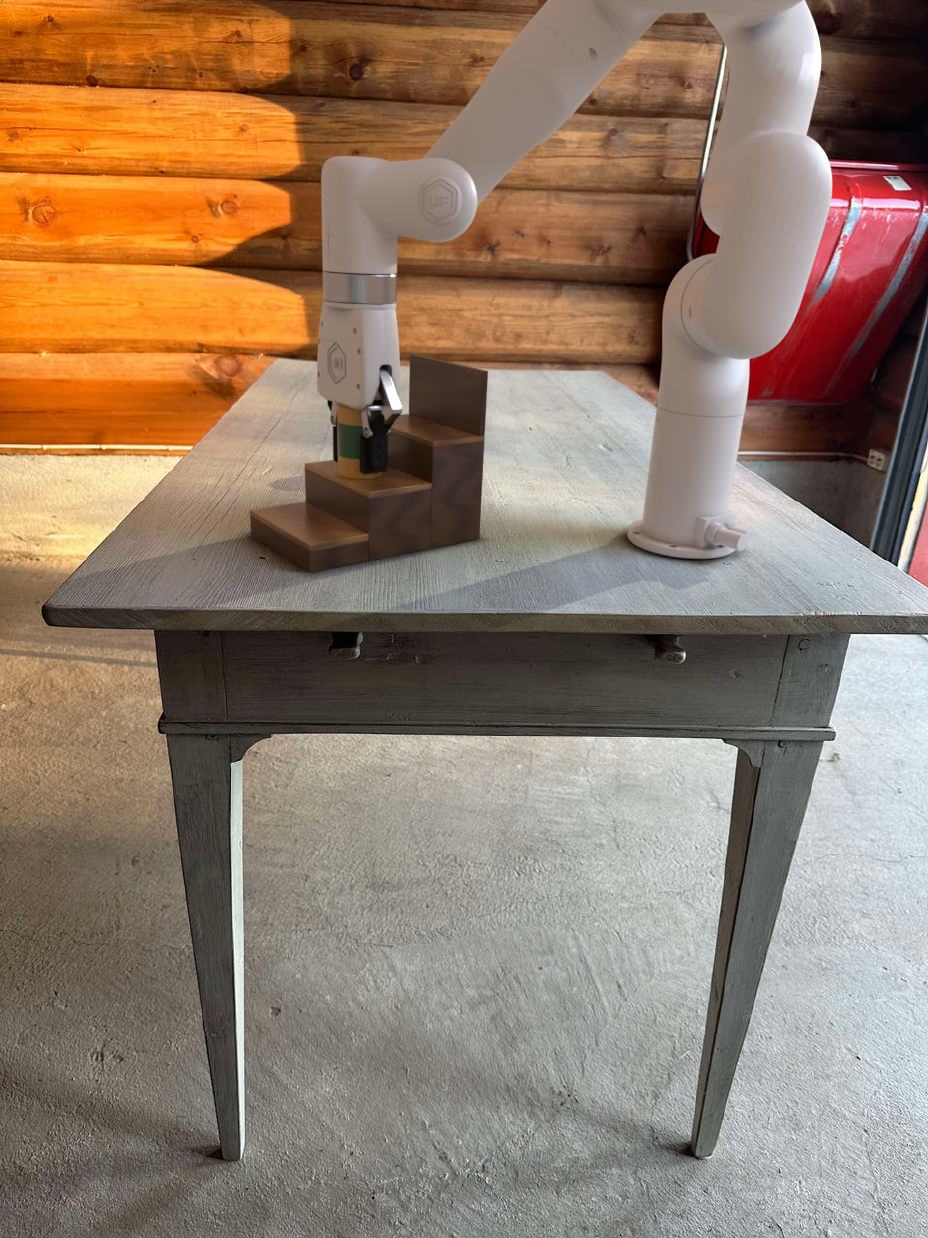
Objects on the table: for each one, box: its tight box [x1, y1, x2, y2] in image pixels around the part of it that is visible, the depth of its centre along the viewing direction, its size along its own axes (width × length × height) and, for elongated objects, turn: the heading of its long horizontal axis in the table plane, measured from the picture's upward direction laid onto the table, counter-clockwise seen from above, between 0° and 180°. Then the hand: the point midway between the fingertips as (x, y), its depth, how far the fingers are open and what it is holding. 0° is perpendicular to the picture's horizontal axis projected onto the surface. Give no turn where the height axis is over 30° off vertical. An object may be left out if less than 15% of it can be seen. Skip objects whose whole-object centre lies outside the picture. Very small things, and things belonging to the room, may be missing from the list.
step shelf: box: [249, 353, 489, 573], centre depth 101 cm, size 22×14×19 cm, turn 127°
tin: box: [336, 400, 382, 479], centre depth 99 cm, size 5×5×8 cm
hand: (359, 464), depth 100 cm, fingers closed on tin, 4 cm apart
